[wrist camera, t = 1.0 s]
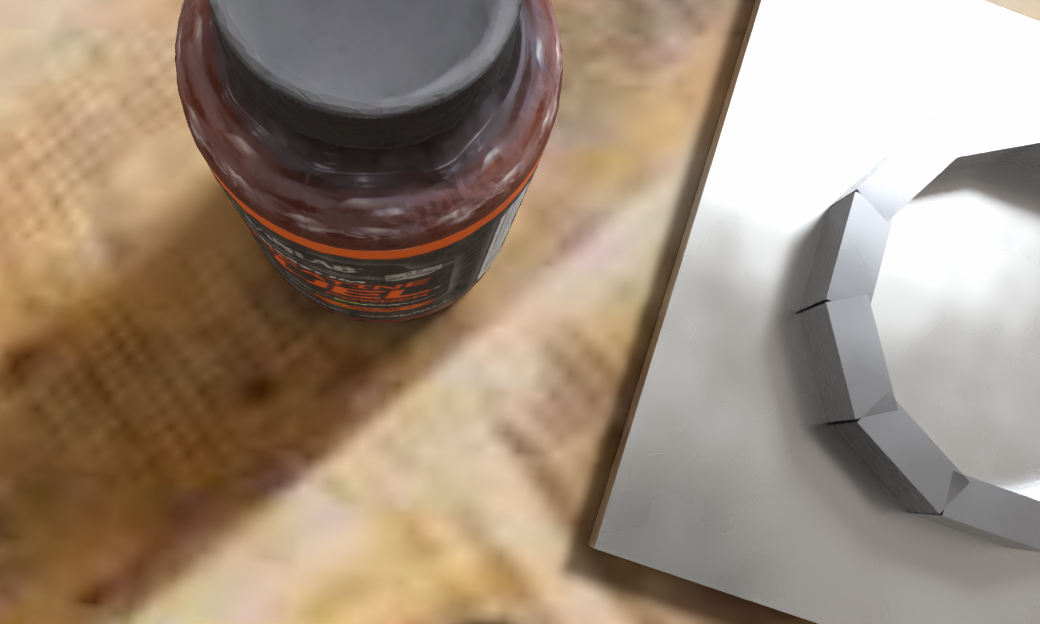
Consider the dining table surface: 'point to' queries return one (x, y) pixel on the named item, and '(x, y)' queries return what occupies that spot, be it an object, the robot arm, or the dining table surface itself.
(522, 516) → the dining table surface
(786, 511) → the duct plate
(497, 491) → the dining table surface
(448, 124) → the supplement bottle
